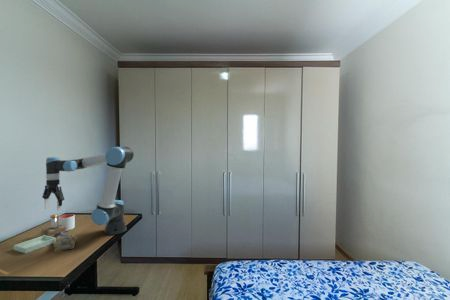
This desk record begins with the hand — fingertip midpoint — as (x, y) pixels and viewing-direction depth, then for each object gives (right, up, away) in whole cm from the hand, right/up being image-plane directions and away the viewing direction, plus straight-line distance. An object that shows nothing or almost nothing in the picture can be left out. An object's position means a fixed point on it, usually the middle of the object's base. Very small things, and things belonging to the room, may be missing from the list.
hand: (53, 209), depth 167 cm
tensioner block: (+3, -18, -1) cm, 19 cm away
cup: (+2, -18, +12) cm, 22 cm away
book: (+19, -20, -15) cm, 32 cm away
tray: (+1, -19, -17) cm, 26 cm away
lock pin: (0, -18, +1) cm, 18 cm away
